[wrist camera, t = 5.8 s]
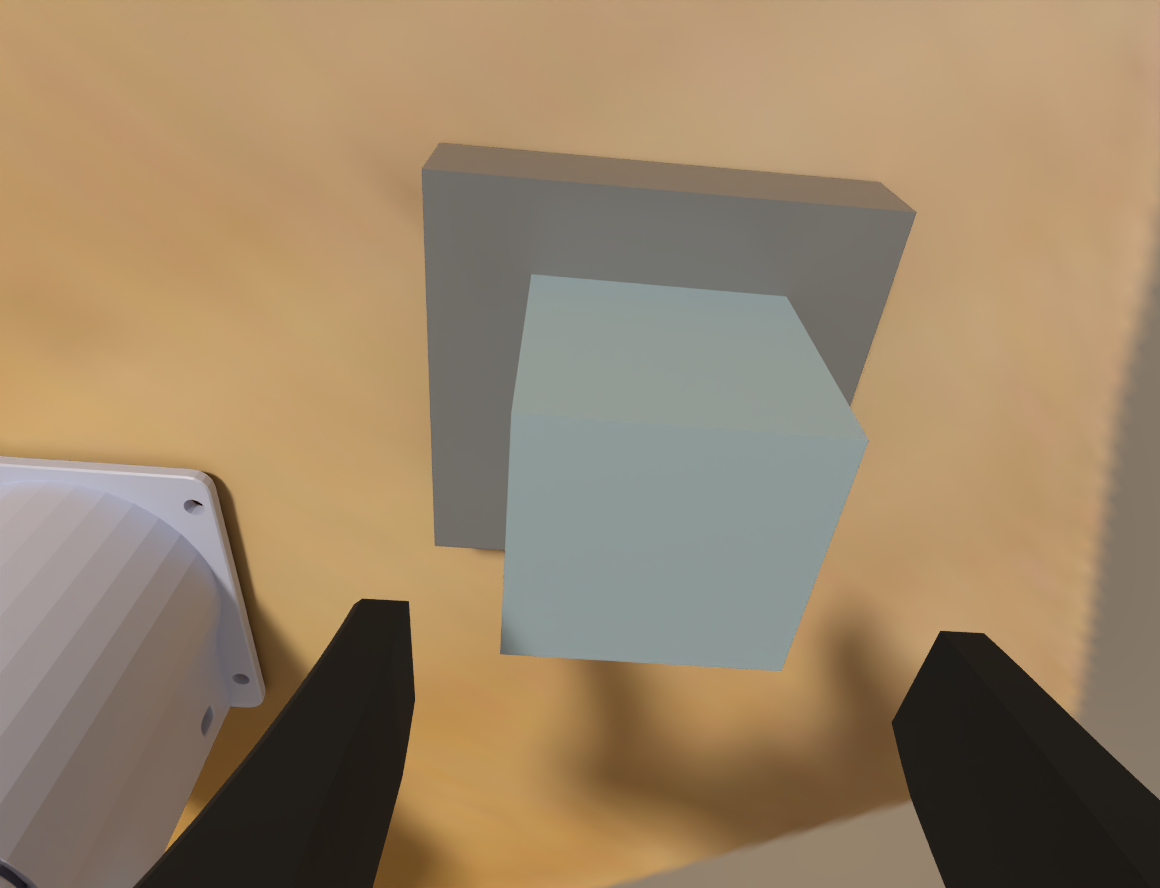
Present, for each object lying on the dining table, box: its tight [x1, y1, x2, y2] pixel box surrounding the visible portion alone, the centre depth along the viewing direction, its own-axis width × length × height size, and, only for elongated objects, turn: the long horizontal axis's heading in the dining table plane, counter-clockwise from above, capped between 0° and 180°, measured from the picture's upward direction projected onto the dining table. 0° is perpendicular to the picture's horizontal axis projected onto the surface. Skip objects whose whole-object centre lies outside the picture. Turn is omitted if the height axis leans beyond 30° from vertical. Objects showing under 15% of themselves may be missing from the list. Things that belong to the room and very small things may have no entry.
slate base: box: [422, 143, 917, 550], centre depth 17 cm, size 9×9×2 cm
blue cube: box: [500, 274, 869, 671], centre depth 14 cm, size 5×5×5 cm
